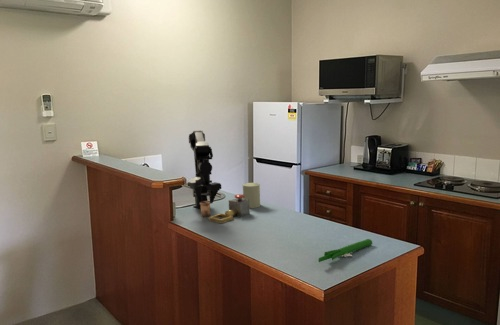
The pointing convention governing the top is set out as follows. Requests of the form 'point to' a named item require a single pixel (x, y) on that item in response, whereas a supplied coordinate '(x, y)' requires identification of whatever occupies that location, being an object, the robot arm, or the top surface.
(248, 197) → the can
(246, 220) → the top surface
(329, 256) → the green onion
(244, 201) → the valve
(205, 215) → the stub
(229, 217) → the socket
